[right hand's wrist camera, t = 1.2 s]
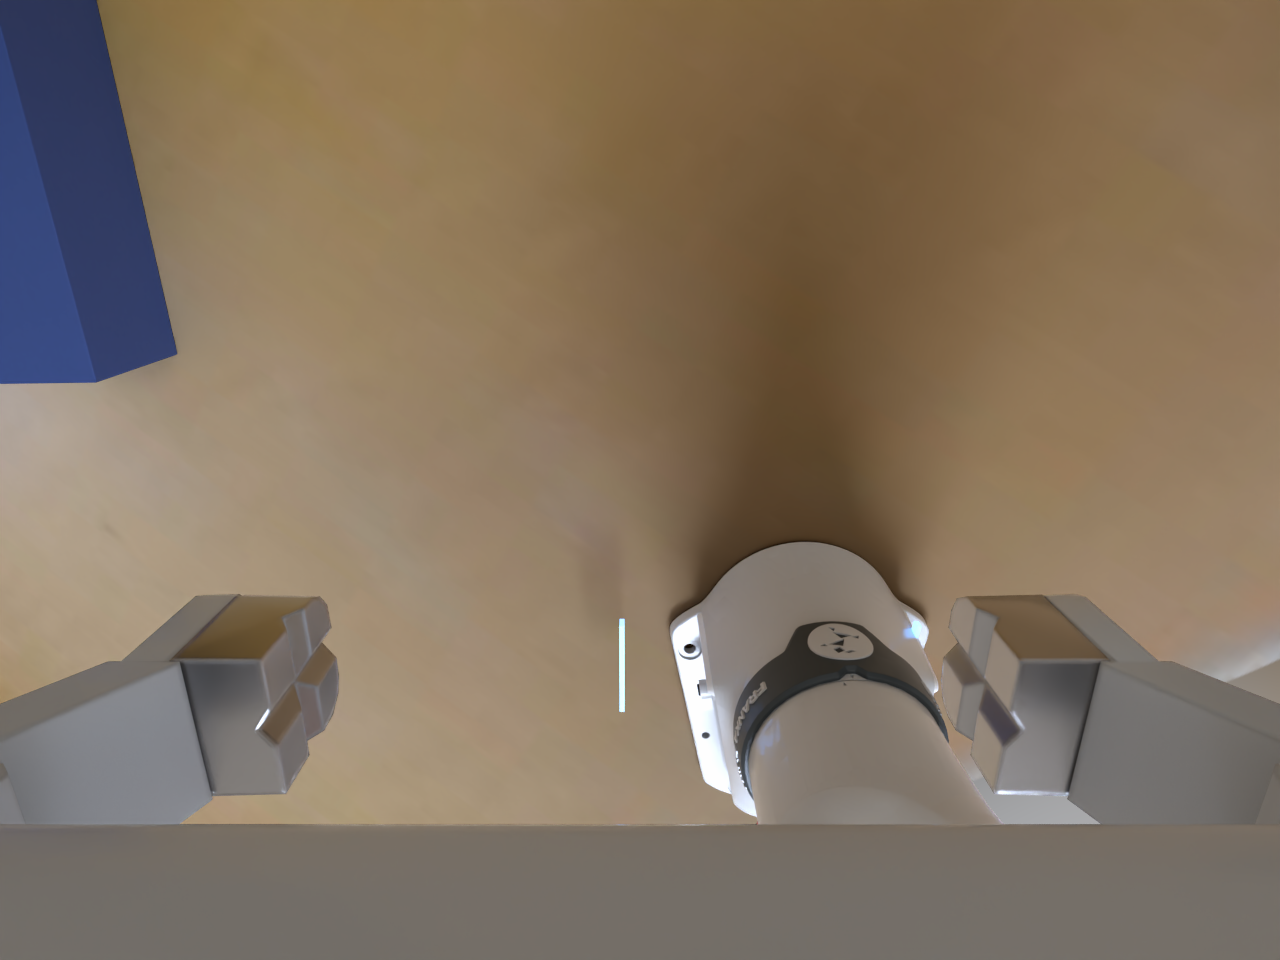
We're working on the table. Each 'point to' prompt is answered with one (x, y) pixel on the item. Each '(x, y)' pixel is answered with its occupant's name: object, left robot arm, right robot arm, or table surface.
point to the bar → (70, 207)
